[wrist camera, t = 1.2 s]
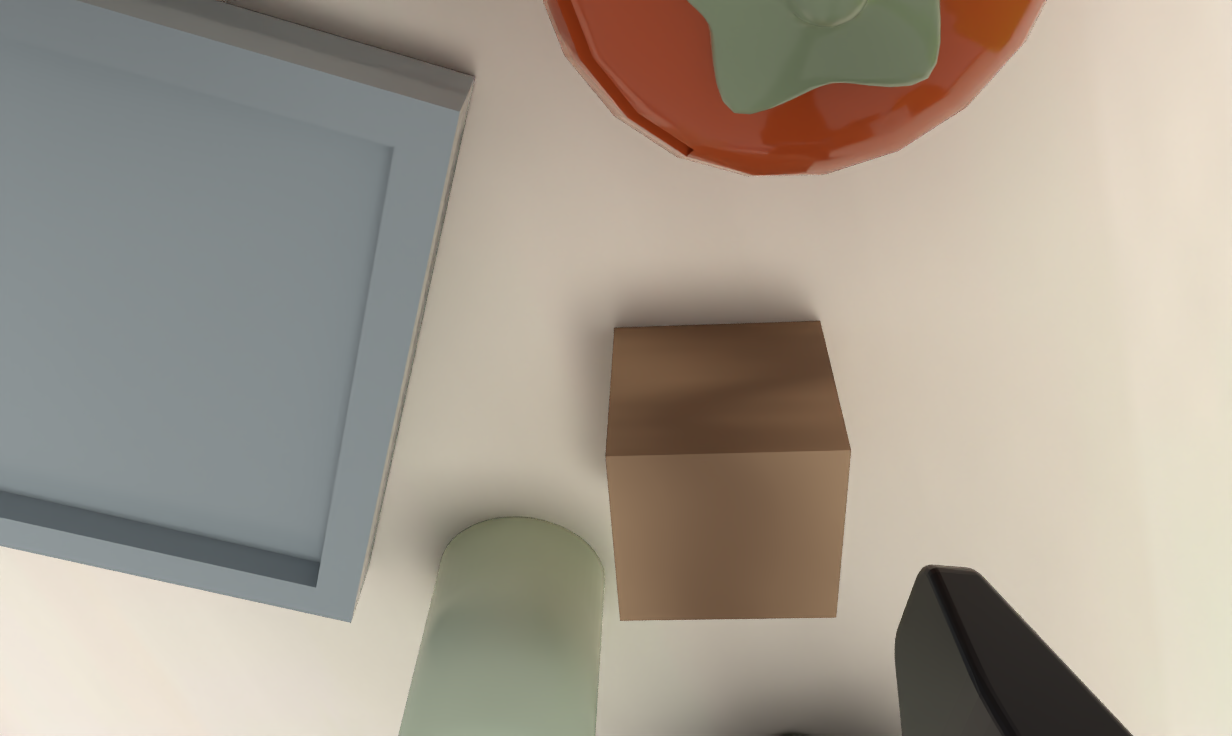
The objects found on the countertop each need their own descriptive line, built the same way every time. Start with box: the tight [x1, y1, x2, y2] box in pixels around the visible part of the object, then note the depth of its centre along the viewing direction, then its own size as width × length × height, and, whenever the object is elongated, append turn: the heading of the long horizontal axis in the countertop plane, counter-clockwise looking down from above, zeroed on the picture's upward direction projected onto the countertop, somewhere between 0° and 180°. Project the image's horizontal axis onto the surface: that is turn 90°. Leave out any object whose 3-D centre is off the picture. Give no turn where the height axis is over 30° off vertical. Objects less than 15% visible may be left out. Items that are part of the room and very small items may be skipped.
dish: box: [0, 0, 475, 623], centre depth 22 cm, size 14×14×2 cm
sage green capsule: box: [398, 517, 605, 736], centre depth 25 cm, size 4×4×6 cm
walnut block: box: [606, 321, 851, 621], centre depth 22 cm, size 4×4×4 cm
